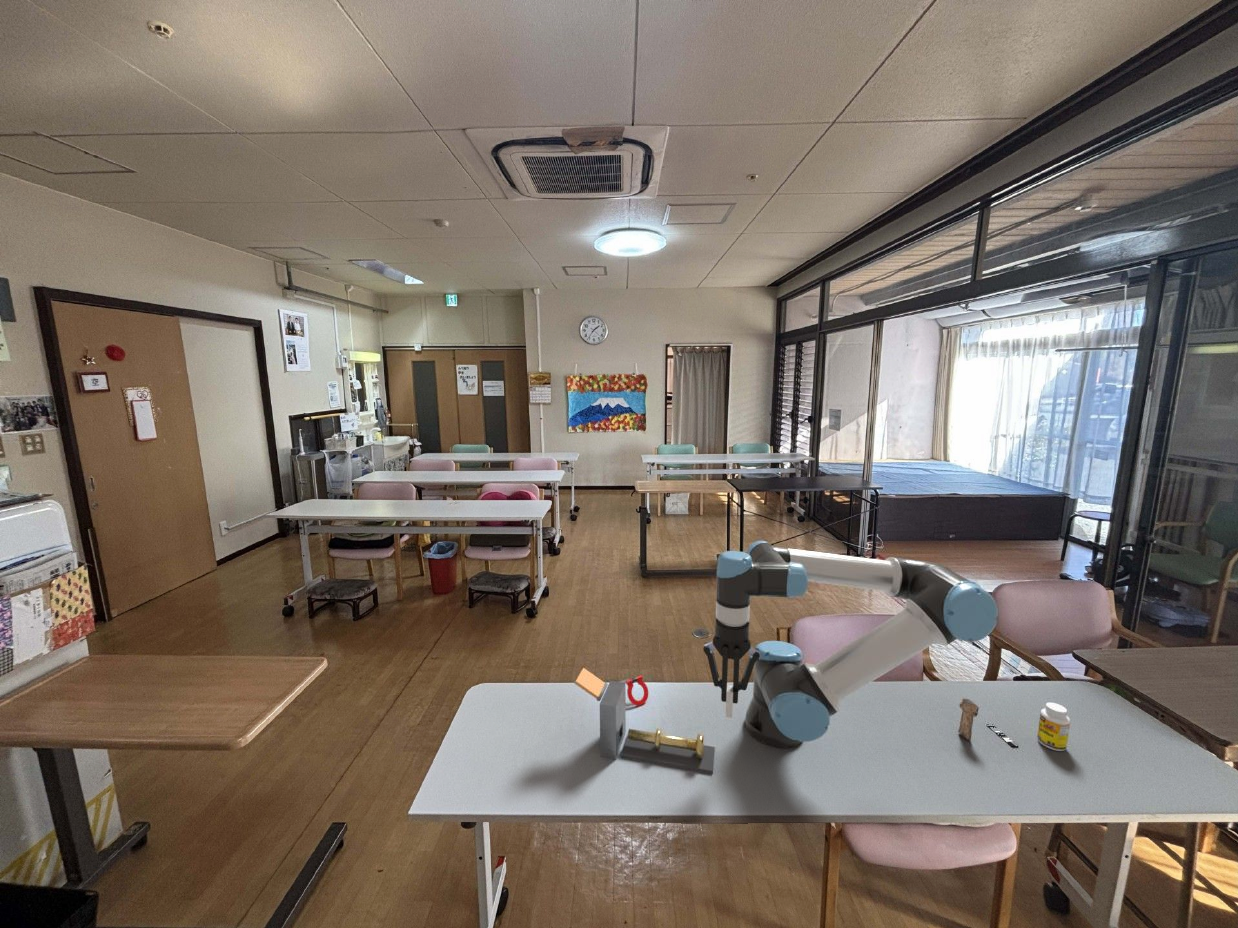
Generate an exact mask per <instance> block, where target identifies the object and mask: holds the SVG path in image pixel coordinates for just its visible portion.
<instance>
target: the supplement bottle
mask: <svg viewBox="0 0 1238 928" xmlns="http://www.w3.org/2000/svg"><path fill="white" fill-rule="evenodd" d="M1070 727H1071V719H1070V717H1069V716H1068V710H1067V708H1066V707H1064V706H1063V705H1061V704H1058V703H1055V702H1046V703H1045V707H1044V708H1042V709H1041V710H1040V714H1039V720H1038V729H1037V737H1036V739H1037V740H1038V743H1040V744H1041V745H1043V747H1046V748H1047V749H1050V750H1052V751H1056V752H1063V751H1065V750H1066V749H1067V746H1068V739H1069V733H1070Z"/></svg>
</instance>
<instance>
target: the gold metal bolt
mask: <svg viewBox="0 0 1238 928" xmlns="http://www.w3.org/2000/svg"><path fill="white" fill-rule="evenodd" d="M627 736H628V740H634V741H640V742H646V743H651V744H655V749H659V750H660V747H661V745H663V746H669V747H675V748H681V749H687V750H692V751H696V757H697V758H703V748H704V745H705V735H704V734H701V733H697V736H696V739H695V738H694V739H693V738H688V737H687V738H686V737H682V736H677V735H669V734H664V733H663V732H662V729H661V728H657V729H656V730H655V732H652V731H646V730H639V729H632V728H628V733H627Z"/></svg>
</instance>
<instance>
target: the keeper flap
mask: <svg viewBox="0 0 1238 928" xmlns="http://www.w3.org/2000/svg"><path fill="white" fill-rule="evenodd" d="M574 685H576V686H577V687H579V688H580V689H581V690H583V691H584V692H586V693H587V694H589V695H590V696H591V697H593V698H595V699H596V701H597V702H601V700H602V698H603V696H604V694H605V692H606V689H607V687H608V685H609V683H607V682H605V681H603V680H602V679H600V678H599V677H597V676H596V675H595V674H593V673H592V672H590V671H589V670H587V669H586V668H585V667H583V668H582V670H581V671H580V673H579V675H578V676H577V678H576V679H575V681H574Z"/></svg>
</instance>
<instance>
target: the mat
mask: <svg viewBox="0 0 1238 928" xmlns="http://www.w3.org/2000/svg"><path fill="white" fill-rule="evenodd" d="M715 749H716V747H715V746H711V745H705V744H704V748H703V758H697V757H696V751H692V750H687V749H681V748H675V747H669V746H663V745H661V747H660V750H659V749H655V744H651V743H646V742H640V741H634V740H628V735H626V739H625V742H624V745H623V748H622V751H621V754H620V758H622V759H627V760H633V761H638V762H639V761H640V762H644V763H650V764H655V765H660V766H661V765H662V766H667V767H673V768H677V769H684V770H689V771H694V772H700V773H706V774H710V775H713V773H714V764H715V763H714V762H715V752H716V751H715Z"/></svg>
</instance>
